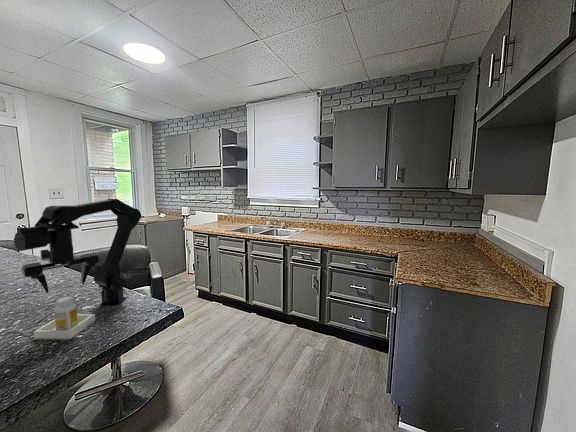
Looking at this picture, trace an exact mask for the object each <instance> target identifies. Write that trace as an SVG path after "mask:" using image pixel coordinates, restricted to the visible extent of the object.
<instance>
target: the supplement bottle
mask: <svg viewBox="0 0 576 432" xmlns="http://www.w3.org/2000/svg"><path fill="white" fill-rule="evenodd" d="M77 310H78V308H77V304H76V303H74V298H73V297H72V296H68V297H67V296H65V297H61V298H59V299H57V300H56V307H55V308H54V310H53V311H54V312H53V313H54V319H55V324H56V330H70V329H72V328H73V327H74V326H76V325H77V324H78V319H77V314H78V311H77Z"/></svg>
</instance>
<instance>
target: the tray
mask: <svg viewBox="0 0 576 432" xmlns="http://www.w3.org/2000/svg"><path fill="white" fill-rule="evenodd" d="M77 319H78V324H77V325H76V326H74V327H73V328H72V329H70V330H56V324H55V318H54V319H53V320H51V321H49V322H48V323H46V324H44V325H42V326H41V327H38V329H36V330H34V331H33V339H34V340H71V339H74V337H75V336H77V335H78V334H79V333H81V332H82V331H84V330H85V329H86V328H89V326H91V325H92V324H93V323H95V322H96V314H95V313H77Z"/></svg>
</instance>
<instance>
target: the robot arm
mask: <svg viewBox="0 0 576 432" xmlns="http://www.w3.org/2000/svg"><path fill="white" fill-rule="evenodd" d="M44 208H45V209H44V210H43V211H42V216H40V217H39V219H38V221H37V222H36V223H35V224H34V225H33V226H30V227H17V228H16V233H15V235H14V238H13V243H14V246H15V248H16V249H17V250H18V251H19V252H23V251H28V250H34V249H40V248H44V247H45V248H46V247H47V246H49V249H41V250H40V258H41V260H42V261H43V260H45V261H46V260H49V261H48V262H49V263H45V264H42V263H41V262H39V261H38V262H33V263H32V262H31V263H26V264H23V266H22V267H21V270H22V274H23V276H24V278H29V277H30V279H36V280H37V281H38V282H39V283H40V284H41V286H42V288H43V290H44V291H45V293H46V294H49V292H50V291H49V287H48V282H47V279H46V276H45V273H44V271H46V270H52V269H58V268H63V267H67V266H69V267H70V266H75V265H79V264H80V269H81V270H80V271H81V273H80V282H81V285H82V286H83V285H84V284H85V283H86V280H87V277H88V275H89V273H90V271H91V269H92V268H93V267H95V271H94V273H93V274H92V276H93V281H94V283H95V284H97V286H98V287H99V288H101V291H100V292H101V294H100V295H101V302H100V303H99V305H100V306H117V305H119V304H120V303H121V302H123V301H124V300H125V299H126V298H127V296H124V288H125V287H126V285H127V281H126V279H123V278H122V277H121V274H122V269H121V265H120V264H121V261H122V258H123V256H124V252H125V250H126V246H127V244H128V241H129V238H130V234H131V233H132V230H133V229H134V228H136V226H137V225H138V224H139V223H140V220H141V219H142V213H141V211H140V210H139V209H137V208H134V207H133V206H130V205H129V204H127V203H124V202H123V201H121V200H120V199H118V198H107V199H104V200H98V201H93V202H89V203H88V202H87V203H80V204H76V205H49V206H46V207H44ZM107 211H111V213H112V214H114V215H115V216H116V223H117V224H116V225H117V228H116V231H115V234H114V237H113V240H112V242H111V245H110V248H109V250H108V253H107V256H106V258H105V260H104V262H103V263H102V264H101V265H99V263H100V256H98V254H95V253H93V252H92V253H85V254H81V256H80V257H79V258H75V255H74V245H73V236H72V235H73V234H72V230H75V229H79V226H78V225H77V224H75V223H73V222H74V221H76V220H78V219H80V218H81V217H85V216H88V215H93V214H98V213H102V212H107ZM96 264H98V265H96Z"/></svg>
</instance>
